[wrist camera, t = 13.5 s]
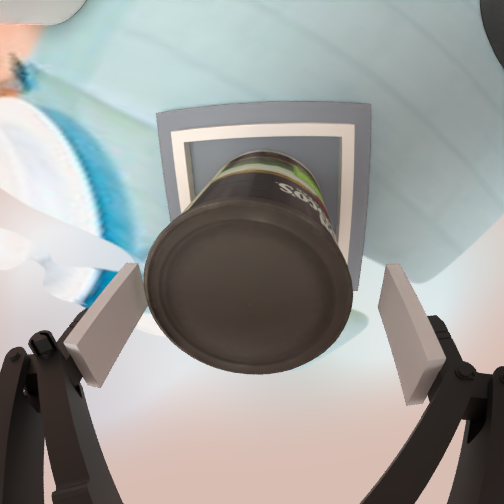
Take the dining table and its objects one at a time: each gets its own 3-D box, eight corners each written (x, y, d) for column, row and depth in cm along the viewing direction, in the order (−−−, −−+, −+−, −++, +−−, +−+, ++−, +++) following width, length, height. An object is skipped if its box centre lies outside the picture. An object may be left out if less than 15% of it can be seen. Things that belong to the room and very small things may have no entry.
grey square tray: (366, 103, 23) (375, 104, 21) (355, 282, 31) (360, 299, 29) (162, 112, 25) (149, 114, 23) (187, 282, 33) (179, 298, 31)
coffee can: (283, 125, 24) (282, 153, 11) (342, 226, 27) (382, 334, 15) (183, 188, 27) (104, 270, 15) (247, 275, 30) (222, 392, 18)
